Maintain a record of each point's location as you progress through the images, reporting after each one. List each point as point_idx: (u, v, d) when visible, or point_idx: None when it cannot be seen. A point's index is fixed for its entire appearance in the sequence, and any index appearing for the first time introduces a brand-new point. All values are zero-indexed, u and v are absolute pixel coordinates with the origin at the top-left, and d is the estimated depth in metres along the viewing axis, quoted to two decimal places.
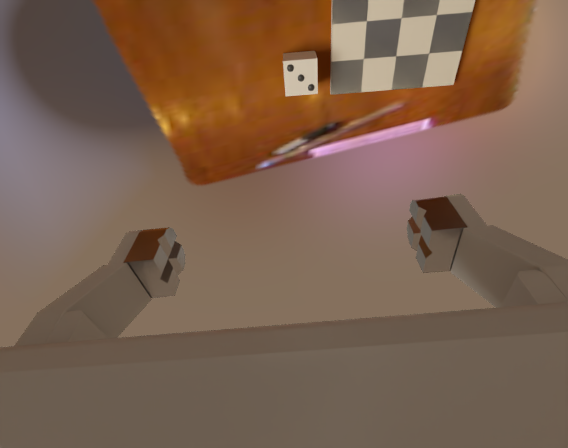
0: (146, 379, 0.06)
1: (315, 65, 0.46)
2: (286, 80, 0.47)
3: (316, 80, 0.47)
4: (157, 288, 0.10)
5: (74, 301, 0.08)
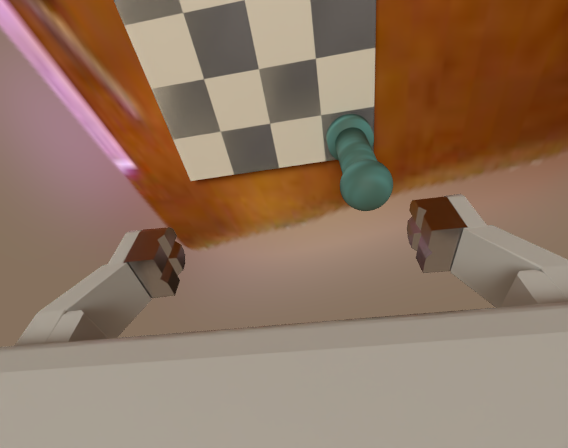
0: (146, 379, 0.06)
1: None
2: None
3: None
4: (157, 288, 0.10)
5: (74, 301, 0.08)
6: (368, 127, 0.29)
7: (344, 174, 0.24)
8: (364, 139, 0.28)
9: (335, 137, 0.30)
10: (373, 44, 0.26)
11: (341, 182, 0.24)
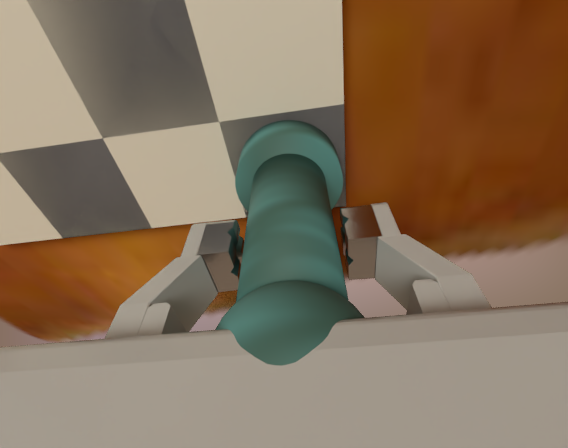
0: (146, 379, 0.06)
1: None
2: None
3: None
4: (226, 281, 0.10)
5: (156, 293, 0.08)
6: (328, 154, 0.12)
7: None
8: (313, 190, 0.10)
9: (251, 176, 0.13)
10: None
11: None
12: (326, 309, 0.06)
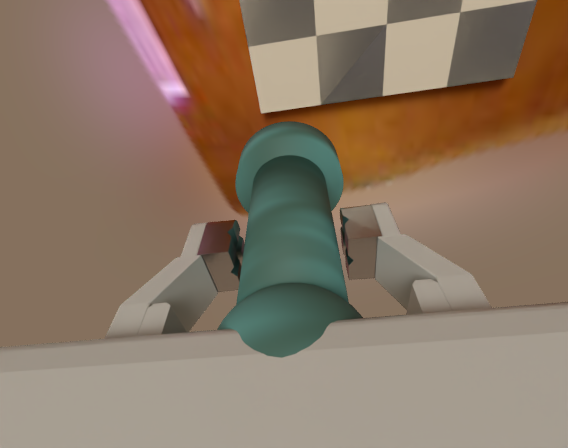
0: (146, 379, 0.06)
1: None
2: None
3: None
4: (226, 282, 0.10)
5: (156, 293, 0.08)
6: (328, 156, 0.12)
7: None
8: (313, 192, 0.10)
9: (251, 177, 0.13)
10: None
11: None
12: (326, 312, 0.06)
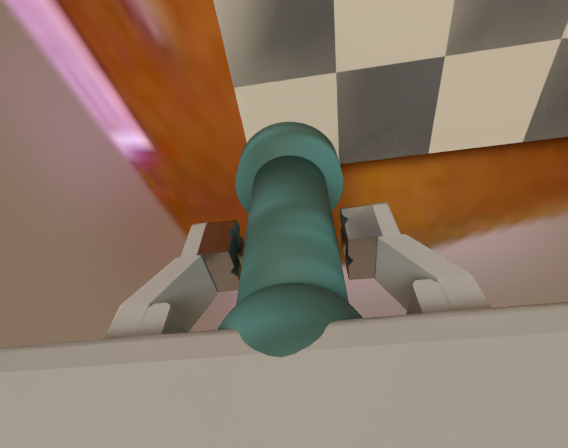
0: (146, 379, 0.06)
1: None
2: None
3: None
4: (226, 282, 0.10)
5: (156, 293, 0.08)
6: (328, 156, 0.12)
7: None
8: (313, 193, 0.10)
9: (251, 177, 0.13)
10: None
11: None
12: (326, 312, 0.06)
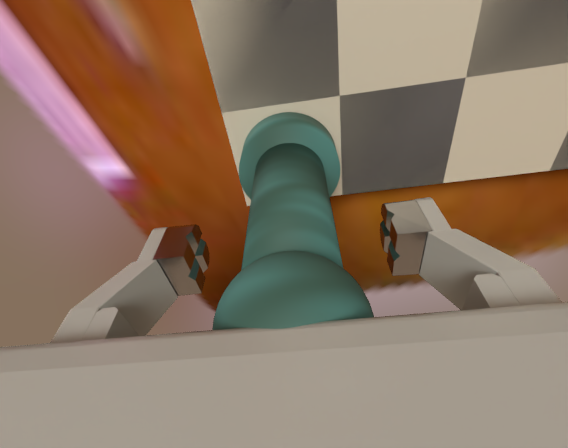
0: (146, 379, 0.06)
1: None
2: None
3: None
4: (184, 285, 0.10)
5: (106, 298, 0.08)
6: (326, 144, 0.13)
7: (220, 302, 0.07)
8: (312, 175, 0.11)
9: (253, 164, 0.13)
10: None
11: (214, 324, 0.08)
12: (323, 271, 0.07)
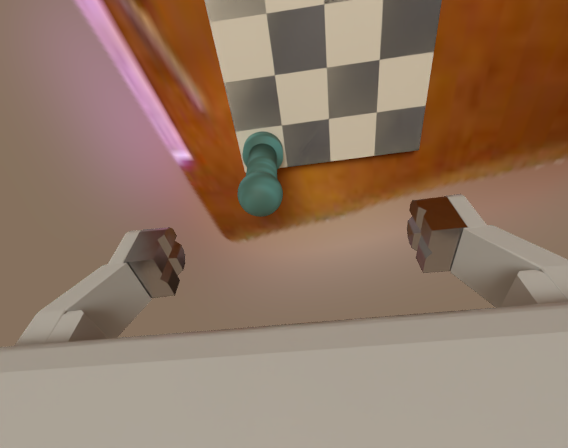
0: (146, 379, 0.06)
1: None
2: None
3: None
4: (157, 288, 0.10)
5: (74, 301, 0.08)
6: (276, 144, 0.33)
7: (240, 183, 0.27)
8: (269, 154, 0.31)
9: (248, 151, 0.34)
10: (432, 49, 0.29)
11: (238, 190, 0.28)
12: (267, 174, 0.27)
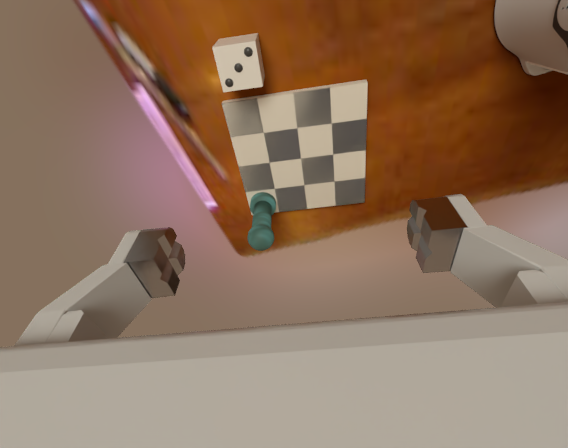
0: (146, 379, 0.06)
1: (254, 85, 0.39)
2: (232, 47, 0.36)
3: (238, 88, 0.39)
4: (157, 288, 0.10)
5: (74, 301, 0.08)
6: (271, 201, 0.53)
7: (249, 231, 0.47)
8: (266, 209, 0.51)
9: (253, 205, 0.53)
10: (364, 148, 0.48)
11: (248, 235, 0.47)
12: (264, 226, 0.47)
